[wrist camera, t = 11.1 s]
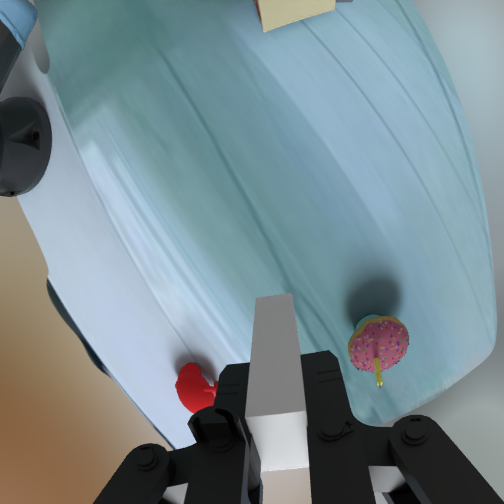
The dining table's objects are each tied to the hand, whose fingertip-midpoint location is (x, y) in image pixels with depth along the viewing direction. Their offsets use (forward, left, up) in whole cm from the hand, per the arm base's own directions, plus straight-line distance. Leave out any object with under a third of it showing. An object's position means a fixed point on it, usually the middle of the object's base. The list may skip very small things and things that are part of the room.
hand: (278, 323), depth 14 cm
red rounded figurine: (+9, -28, -27) cm, 40 cm away
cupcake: (+22, -4, -27) cm, 35 cm away
